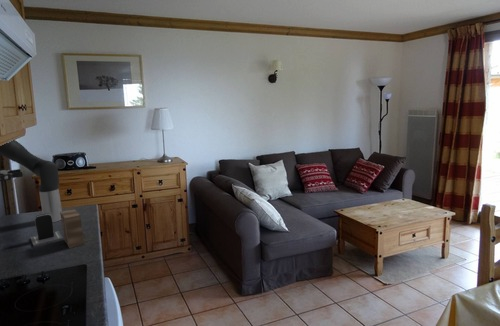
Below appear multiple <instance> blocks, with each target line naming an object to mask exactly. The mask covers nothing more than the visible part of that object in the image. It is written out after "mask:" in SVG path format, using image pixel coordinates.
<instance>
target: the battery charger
mask: <svg viewBox="0 0 500 326" xmlns="http://www.w3.org/2000/svg"><path fill="white" fill-rule="evenodd" d="M34 224H35V225H34V226H35V230H36V235H38V239H39V240H41V239H46V238H50V237H54V222H53V221H52V216H51V215H50V214H43V213H42V214H38V215H36V216H35V217H34Z"/></svg>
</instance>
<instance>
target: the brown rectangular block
mask: <svg viewBox="0 0 500 326" xmlns="http://www.w3.org/2000/svg"><path fill="white" fill-rule="evenodd" d="M60 214H61V220H60V221H61V226H62V234H63V240H64V242H65V243H66V245H67V247H68V248H69V249H72V248H76V247H80V246H83V244H84V245H85V241H84V234H83V233H84V232H83V226H82V219H81V214H80V213H79V212H78V211H77V210H76V209H75V208H72V209H67V210H62V211H61V212H60Z"/></svg>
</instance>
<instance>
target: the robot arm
mask: <svg viewBox="0 0 500 326" xmlns="http://www.w3.org/2000/svg"><path fill="white" fill-rule="evenodd" d="M0 156H3V157H5V158H6V159H8V160H10V161H13V162H14V163H17V164H19V165H21V166H23V167H24V168H25V169H27V170H29V171H30V172H31V173H33V174H35V176H37V177H38V178H39V177H40V179H39V180H40V185H38V192H39V193H38V194H39V199H40V205H41V211H42V214H50V215H51V216H52V221H53V223H56V222H59V221H61V214H60V212H61V211H63V210H62V203H61V195H60V191H59V189H60V188H59V184H60V178H59V177H60V176H59V175H60V174H59V168H58V165H57V164H56V163H55V162H53V161H50V160H45V159H43V158H40V157H38V156H37V155H34V154H32V153H31V152H30V151H28V149H27V148H26V147H25V146H24V145H22V144H21V143H20V142H19V141H17V140H15V139H14V140H13V141H11V142H9V143H6V144H4V145H2V146H0ZM23 176H24V175H23V172H22V170H21V169H20V168H17V169H2V170H1V169H0V182H4V181H5V182H6V181H11V180H12V179H15V178H16V179H17V178H23Z"/></svg>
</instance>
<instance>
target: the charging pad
mask: <svg viewBox="0 0 500 326" xmlns="http://www.w3.org/2000/svg"><path fill="white" fill-rule="evenodd" d="M30 240H31V243H32V245H33V248H35V247H38V246H42V245H46V244H49V243H54V242H58V241H59V242H60V241H63V240H64V236H63V235H62V234H61V233H60V230H56V231H54V237H50V238H46V239H41V240H39V239H38V234H36V235H35V236H30Z"/></svg>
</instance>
